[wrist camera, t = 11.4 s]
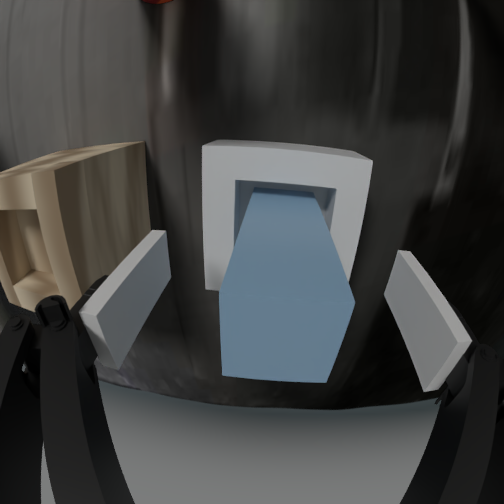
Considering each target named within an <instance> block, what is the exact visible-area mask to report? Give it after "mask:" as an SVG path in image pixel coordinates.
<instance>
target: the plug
mask: <svg viewBox="0 0 504 504" xmlns="http://www.w3.org/2000/svg"><path fill="white" fill-rule="evenodd" d="M354 305H355V301H354V298H353V295H352V292H351V289H350V286H349V283H348V280H347V277H346V274H345V272H344V269H343V266H342V263H341V261H340V258H339V255H338V253H337V250H336V247H335V245H334V242H333V240H332V237H331V234H330V232H329V229H328V227H327V224H326V222H325V219H324V217H323V215H322V212H321V210H320V207H319V205H318V203H317V200H316V198H315V196H314V193H313V192H305V191H295V190H284V189H271V188H258V187H254V190H253V193H252V196H251V199H250V202H249V205H248V207H247V210H246V213H245V216H244V219H243V222H242V225H241V228H240V231H239V234H238V237H237V240H236V243H235V246H234V249H233V252H232V255H231V258H230V261H229V264H228V267H227V270H226V273H225V276H224V279H223V282H222V285H221V288H220V291H219V307H220V335H221V357H222V375H224V376H232V377H241V378H250V379H261V380H274V381H290V382H321V383H326V382H327V379H328V377H329V374H330V372H331V369H332V367H333V364H334V362H335V359H336V357H337V354H338V351H339V349H340V346H341V343H342V340H343V338H344V335H345V332H346V329H347V326H348V323H349V320H350V317H351V314H352V311H353V308H354Z"/></svg>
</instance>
